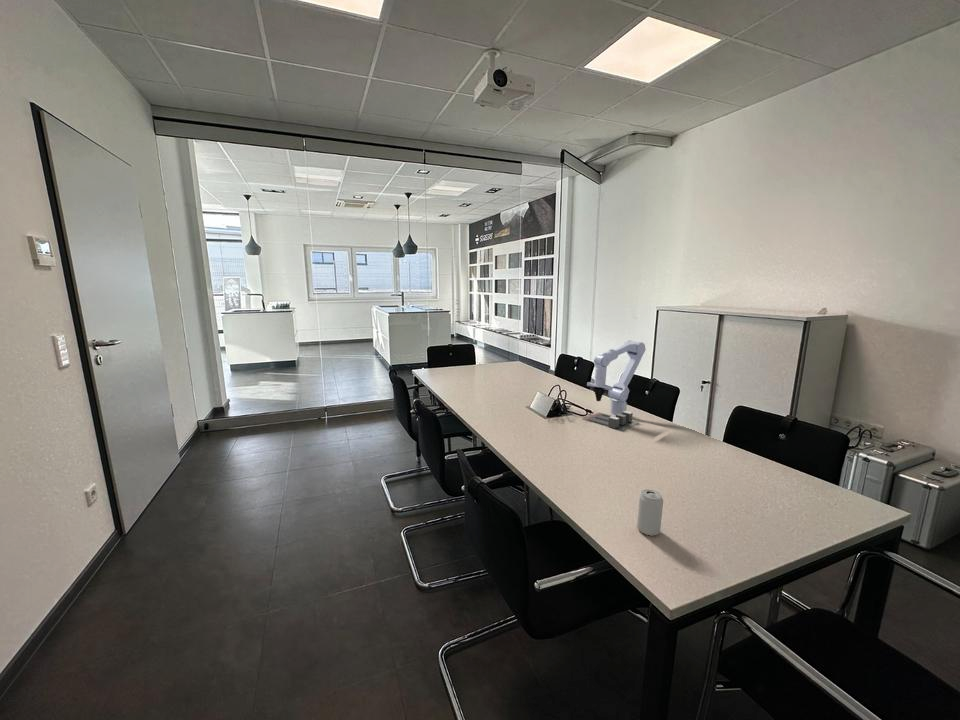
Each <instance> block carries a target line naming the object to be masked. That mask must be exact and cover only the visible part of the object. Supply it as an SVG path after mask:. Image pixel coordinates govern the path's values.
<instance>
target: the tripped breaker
mask: <svg viewBox="0 0 960 720" xmlns="http://www.w3.org/2000/svg"><path fill="white" fill-rule="evenodd" d="M615 417H617V418H620V419H619V424H620V425H624V424H626V415H623V414H616V415H615Z"/></svg>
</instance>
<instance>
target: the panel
mask: <svg viewBox="0 0 960 720" xmlns="http://www.w3.org/2000/svg"><path fill="white" fill-rule="evenodd" d="M611 416H613V415H612V414H610V415H609V414H606V413H602V412H597V413H595V414H594V413H593V414H592V415H589V416H586V417H584V418H582V419H581V420H583V421H586V422H590V423H592V424H593V423H594V424H596V425H600V426H604V427H607V428H610V429H615V430H618V431H622V432H624V431H627V430H629V429H631V428H633V427H635V426H637V425H639V424H640V422H637V421H633V420H632V421H630V422H626V424H624V425H620V424H619V427H617V428H613V427H609V426H608V422H609V417H611ZM613 417H616V415H615V416H613Z"/></svg>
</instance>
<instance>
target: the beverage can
mask: <svg viewBox="0 0 960 720" xmlns="http://www.w3.org/2000/svg"><path fill="white" fill-rule="evenodd" d="M663 507H664V499H663V495H662V493H661V492H659V491H657V490H654V489H650V488H649V489H647V488H645V489H643V490H642V491H641V493H640V494H639V499H638V510H637V511H638V512H637V513H638V514H637V522H636V523H637V525H636V528H637V529H638V531H640V532H641V533H642V534H643V533H644V534H643V535H645V534H646V536H648V535H650V536H649V537H655V536H657V535H659V534H660V533H661V527H662V520H663V519H662V517H663V510H664V509H663ZM654 535H655V536H654Z"/></svg>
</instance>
